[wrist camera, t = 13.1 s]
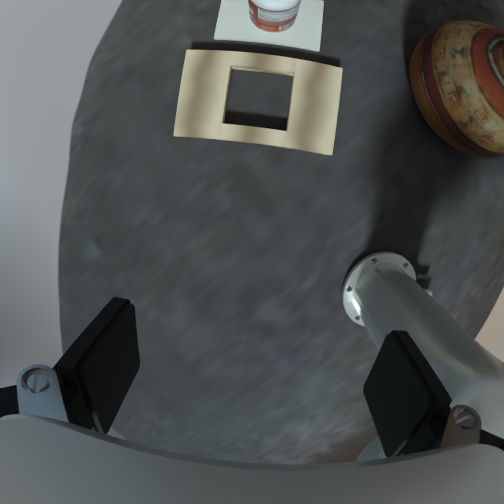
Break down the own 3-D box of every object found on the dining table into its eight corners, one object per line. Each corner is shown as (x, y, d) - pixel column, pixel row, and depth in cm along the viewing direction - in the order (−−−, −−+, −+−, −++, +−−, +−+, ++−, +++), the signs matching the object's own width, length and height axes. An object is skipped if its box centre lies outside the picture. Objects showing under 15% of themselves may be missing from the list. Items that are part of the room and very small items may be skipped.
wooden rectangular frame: (338, 72, 32) (342, 68, 30) (328, 155, 36) (332, 155, 34) (190, 54, 32) (186, 49, 30) (177, 136, 36) (173, 135, 34)
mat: (323, 2, 28) (323, 0, 28) (318, 51, 31) (319, 50, 31) (224, -9, 28) (224, -11, 28) (214, 39, 31) (214, 37, 31)
